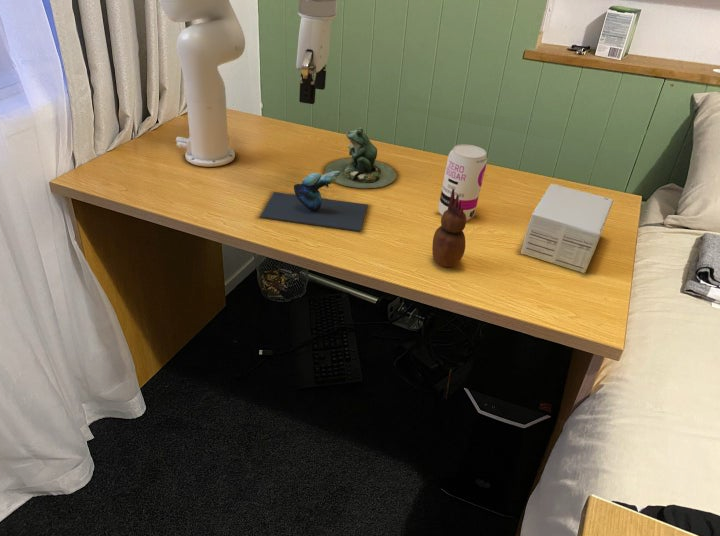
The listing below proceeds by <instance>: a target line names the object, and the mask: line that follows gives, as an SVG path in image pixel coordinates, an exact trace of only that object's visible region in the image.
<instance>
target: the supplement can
mask: <svg viewBox="0 0 720 536" xmlns="http://www.w3.org/2000/svg"><path fill="white" fill-rule="evenodd" d="M487 164H488V155H487V151H486V150H485V149H483V148H482V147H480V146H477V145H473V144H462V143H461V144H456V145H454V146H453V147H452V149H451V151H450V152H449V153H448V155H447V160H446V166H445V170H444V174H443V175H444V176H443V181H442V186H441V192H440V196H439V202H438V206H437V210H438V212H439V213H440V215H441V216H442V215H443V213H444V212H445V211H446V210H448V206H449V201H450V197H451V193H452V189H454V199H456V197H457V195H459V200H458V204H459V202H461V208H463V212H464V213H465V215H466V221H469V220H470V219H472V218H473V217H474V216H475V214H476V210H477V206H478V201H479V197H480V193H481V190H482V185H483V180H484V176H485V172H486V168H487Z"/></svg>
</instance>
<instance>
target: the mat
mask: <svg viewBox="0 0 720 536" xmlns="http://www.w3.org/2000/svg"><path fill="white" fill-rule="evenodd" d="M367 209H368V204H367V203H359V202H352V201H344V200H336V199H330V198H329V199H328V198H323V197H321V208H320V209H319V210H318V211H311V210H309V209H308V208H307V207H306V206H304V205H303V204H302V203H301V202H300V201H299V200H298V199H297V197H296V195H295V194H291V193H285V192H284V193H283V192H277V191H274V192H273V193H272V195H271V197H270V198H269V200H268V201H267V204H266V205H265V207H264V209H263V210H262V212H261V214H260V216H259V218H260V219H267V220H272V221H280V222H288V223H295V224H302V225H308V226H315V227H322V228H328V229H329V228H330V229H338V230H342V231H351V232H359V233H360V232H361V230H362V226H363V223H364V218H365V215H366V212H367Z"/></svg>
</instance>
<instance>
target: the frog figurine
mask: <svg viewBox="0 0 720 536" xmlns="http://www.w3.org/2000/svg"><path fill="white" fill-rule="evenodd" d="M345 137H346V138H347V139H348V140H349V142H350V143H349V144H348V145H347V148H348V149H349V152H348V154H349V156H351V158H342V159H338V160H335V161H332V162H331V163H329V164H327V165H326V167H325V168H324V174H326V173H330V172H333V171H340V175H339V176H338V177H337V178H336V180H335V181H334V182H333V183H336V184H339V185H341V186H345V187H349V188H356V189H357V188H358V189H376V188H383V187H385V186H387V185H390V184H392V183H393V182H394V181H395V180H396V178H397V173H396V171H395V169H393V168H392V167H391V166H390V165H388V164H386V163H383V162H381V161H378V160H377V157H378V148H377V146H375V145H374V143H372V142H371V140H370V138H369V136H368V135H367V134H366V133H365V132H364V129H363V127H358V128H357V129H355V130H353V129H352V130H349V131H346V134H345Z"/></svg>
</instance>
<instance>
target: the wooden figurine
mask: <svg viewBox="0 0 720 536" xmlns="http://www.w3.org/2000/svg"><path fill="white" fill-rule="evenodd" d="M458 200H459V195H457V197H456V199H454V189H452V193H451V197H450V201H449V206H448V210H446V211H445V212H444V213H443V215H441V220H440V226H439V227H437V229H436V230H435V232H434V234H433V237H432V245H431V246H432V257H433V260H434V262H435V263H436V264H437V265H439V266H440V267H443V268H451V267H455V266H457V264H458V263H459V262H460V261H461V260H462V258H463V256H464V254H465V252H466V251H465V250H466V236H465V233H464V229H465V227H466V225H467V220H466V215H465V213H464V212H463V208H461V202H459V204H458Z"/></svg>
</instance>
